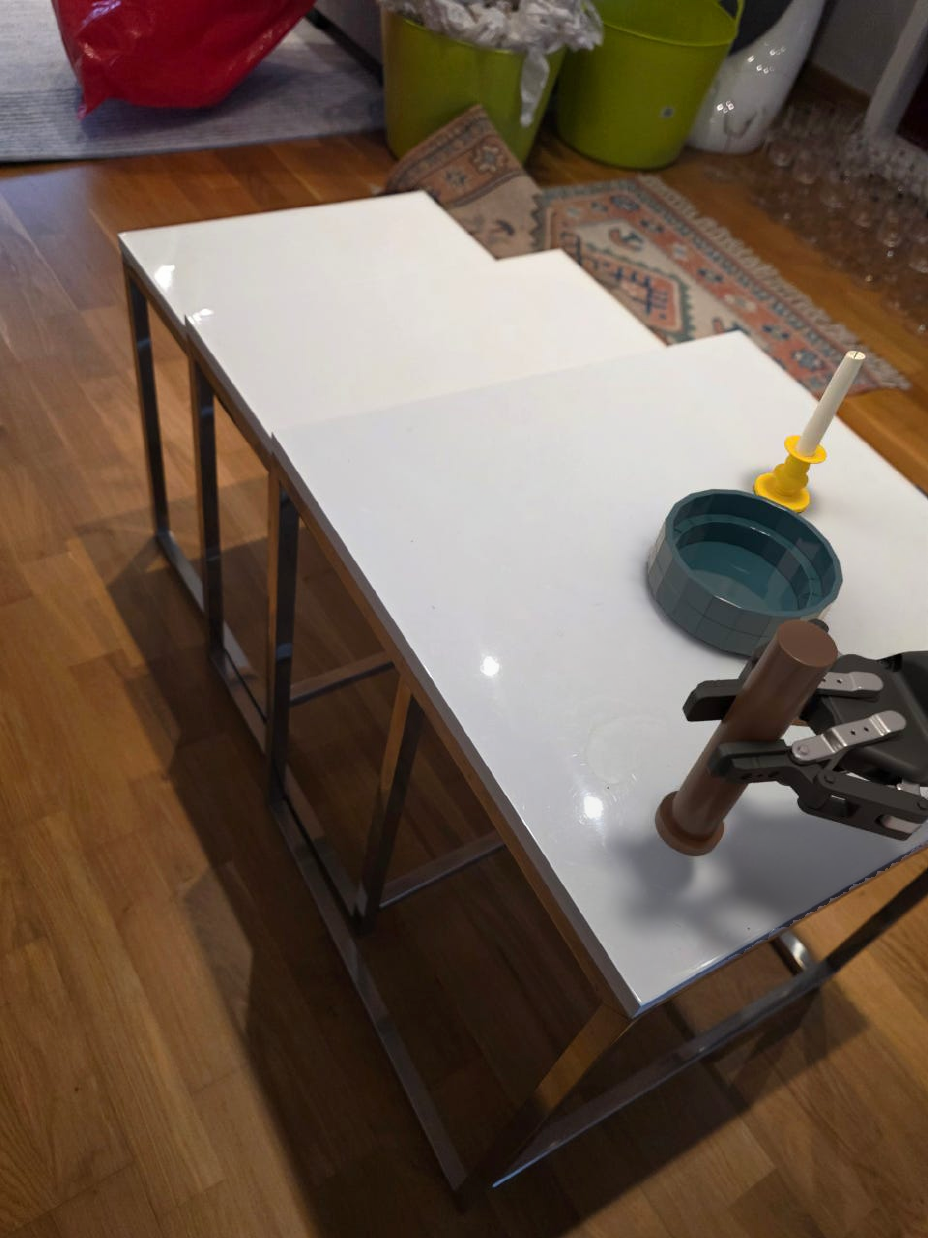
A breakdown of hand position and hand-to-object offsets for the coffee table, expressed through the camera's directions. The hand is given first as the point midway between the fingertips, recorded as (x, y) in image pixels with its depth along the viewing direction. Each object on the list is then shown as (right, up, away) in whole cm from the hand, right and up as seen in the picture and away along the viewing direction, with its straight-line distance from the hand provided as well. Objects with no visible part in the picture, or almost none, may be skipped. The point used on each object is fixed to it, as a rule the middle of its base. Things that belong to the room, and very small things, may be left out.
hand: (702, 732), depth 50 cm
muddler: (+1, -7, +8) cm, 10 cm away
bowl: (+9, +8, +29) cm, 31 cm away
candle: (+17, +17, +39) cm, 46 cm away
